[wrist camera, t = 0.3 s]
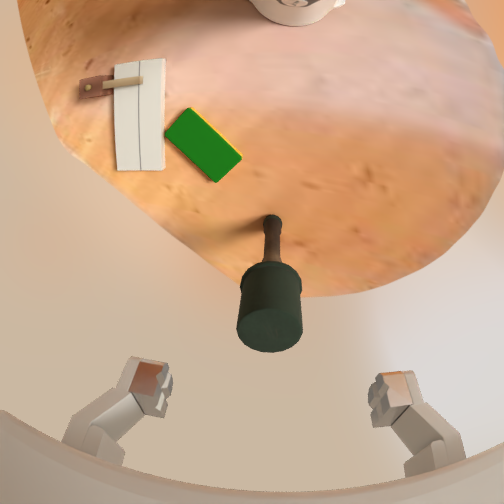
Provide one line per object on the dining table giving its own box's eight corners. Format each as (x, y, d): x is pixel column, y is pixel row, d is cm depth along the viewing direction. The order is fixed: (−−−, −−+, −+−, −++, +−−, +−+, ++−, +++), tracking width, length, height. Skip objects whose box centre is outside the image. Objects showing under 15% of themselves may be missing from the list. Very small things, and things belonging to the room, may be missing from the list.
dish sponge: (192, 106, 47) (188, 106, 45) (244, 155, 52) (242, 158, 50) (167, 132, 50) (163, 134, 48) (218, 180, 55) (215, 184, 53)
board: (119, 65, 42) (114, 64, 41) (166, 59, 42) (162, 58, 40) (121, 167, 54) (117, 170, 52) (165, 167, 54) (161, 170, 52)
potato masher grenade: (254, 242, 61) (240, 357, 35) (248, 204, 57) (226, 308, 31) (295, 238, 60) (306, 353, 34) (291, 199, 55) (305, 303, 30)
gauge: (93, 79, 44) (77, 80, 39) (148, 70, 43) (135, 69, 38) (93, 97, 46) (77, 99, 41) (148, 89, 45) (134, 90, 40)
